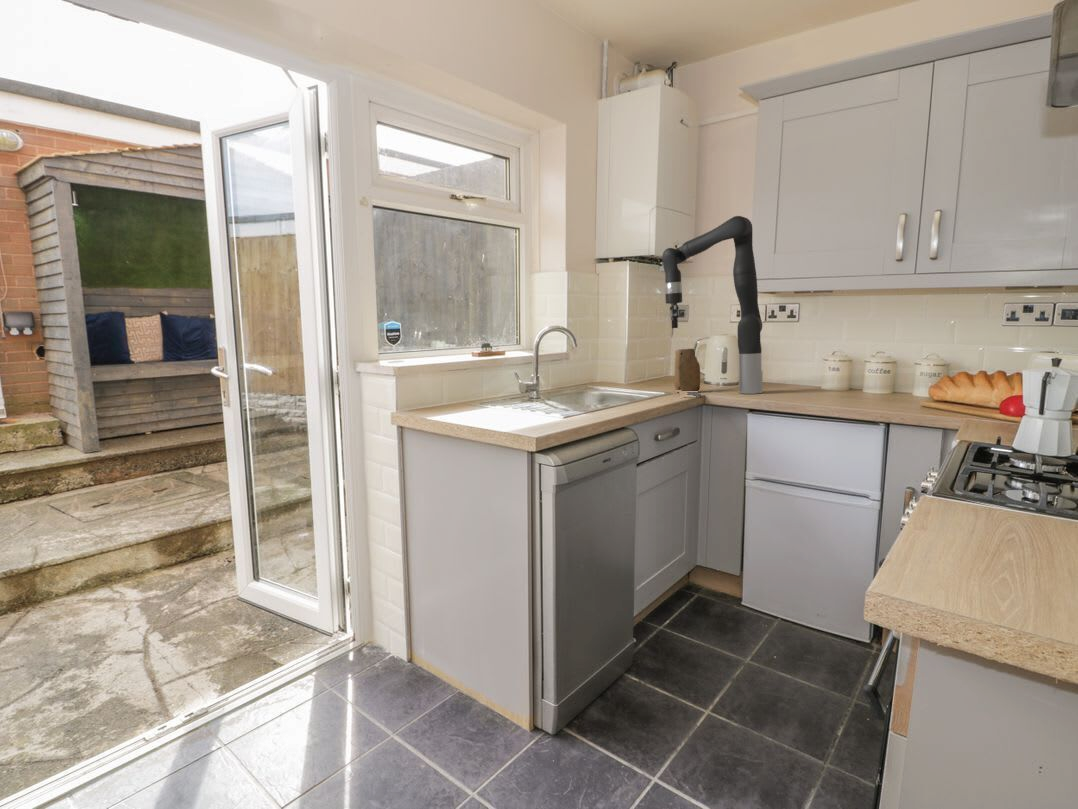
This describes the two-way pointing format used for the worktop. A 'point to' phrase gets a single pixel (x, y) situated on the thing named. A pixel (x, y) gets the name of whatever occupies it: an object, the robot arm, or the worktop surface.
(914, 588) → the worktop surface
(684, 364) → the block
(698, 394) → the slate board
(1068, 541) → the worktop surface
